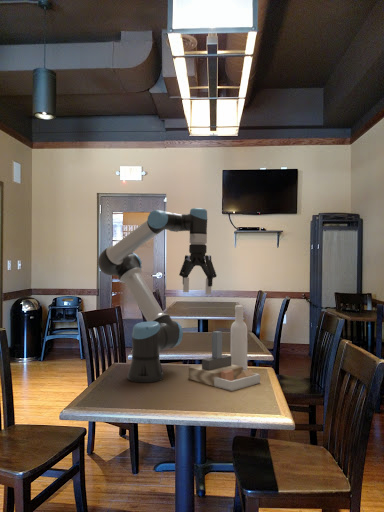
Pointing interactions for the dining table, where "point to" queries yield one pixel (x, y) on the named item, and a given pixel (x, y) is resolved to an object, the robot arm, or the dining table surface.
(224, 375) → the tile
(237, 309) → the bottle
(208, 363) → the grey post
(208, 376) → the striped wooden block
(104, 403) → the dining table surface
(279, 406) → the dining table surface
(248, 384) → the box
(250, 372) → the tile
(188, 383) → the dining table surface
